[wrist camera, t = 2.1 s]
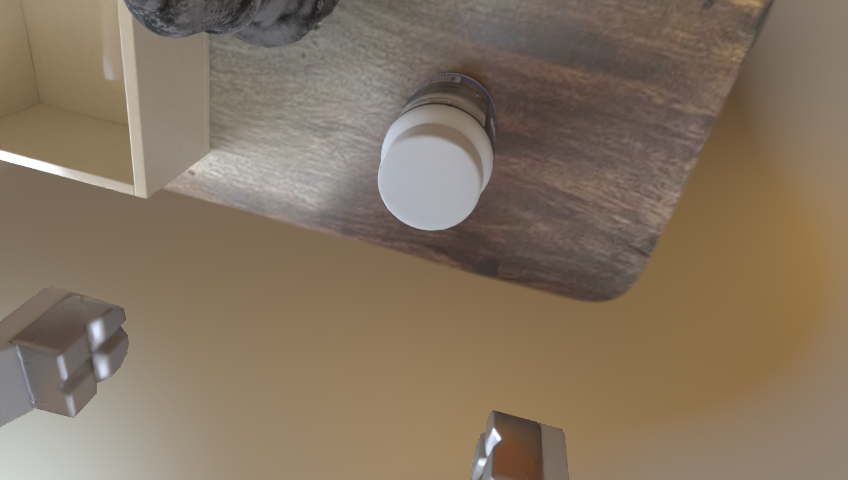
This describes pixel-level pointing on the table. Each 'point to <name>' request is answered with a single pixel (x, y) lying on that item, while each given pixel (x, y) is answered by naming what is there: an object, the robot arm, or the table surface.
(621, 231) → the table surface
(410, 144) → the pill bottle
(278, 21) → the chess bishop
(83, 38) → the cream bin
